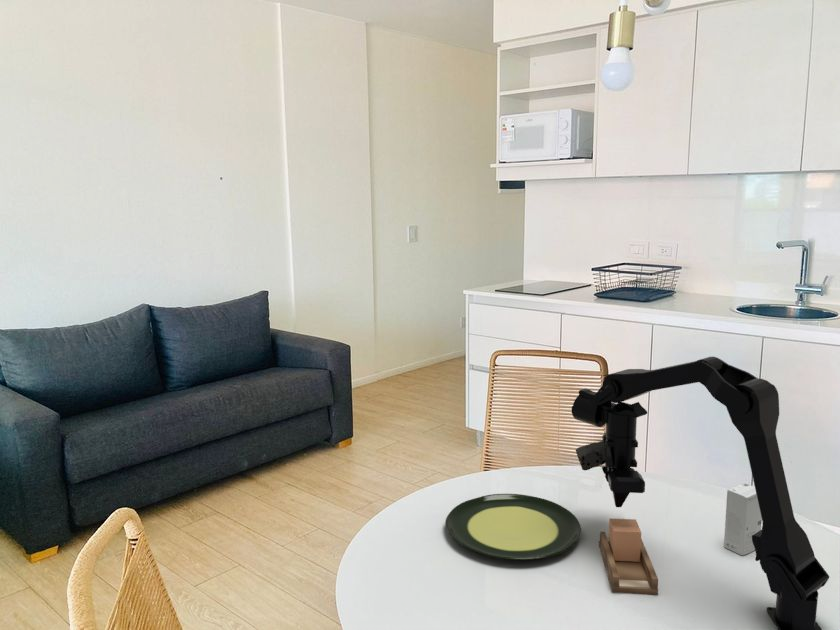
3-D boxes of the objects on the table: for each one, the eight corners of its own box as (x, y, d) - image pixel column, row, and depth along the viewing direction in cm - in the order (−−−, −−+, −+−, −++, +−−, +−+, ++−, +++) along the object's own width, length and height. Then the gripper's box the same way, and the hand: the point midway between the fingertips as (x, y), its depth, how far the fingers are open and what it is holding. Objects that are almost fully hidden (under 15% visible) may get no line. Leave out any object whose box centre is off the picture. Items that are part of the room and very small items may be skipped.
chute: (657, 594, 115) (658, 579, 115) (612, 592, 116) (612, 576, 116) (639, 547, 131) (639, 533, 131) (598, 545, 132) (599, 531, 132)
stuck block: (639, 561, 124) (641, 532, 123) (612, 560, 124) (613, 531, 123) (634, 547, 129) (635, 519, 128) (608, 546, 129) (609, 518, 128)
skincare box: (743, 556, 127) (748, 498, 125) (721, 546, 131) (726, 489, 129) (761, 547, 130) (765, 490, 128) (739, 537, 134) (743, 482, 132)
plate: (451, 572, 124) (451, 560, 123) (441, 504, 151) (441, 494, 151) (598, 567, 125) (599, 555, 124) (562, 501, 152) (562, 491, 152)
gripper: (574, 416, 141) (572, 485, 143) (585, 449, 122) (583, 527, 125) (627, 417, 139) (625, 487, 142) (647, 451, 121) (643, 529, 124)
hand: (618, 506), depth 133 cm, fingers closed
